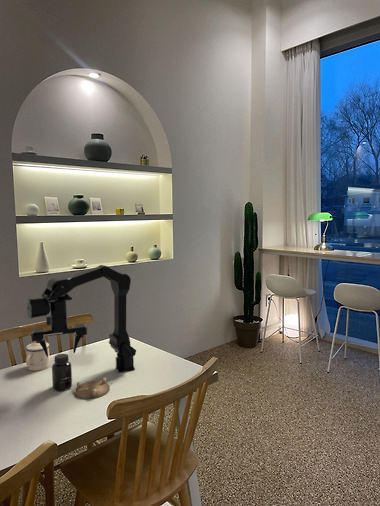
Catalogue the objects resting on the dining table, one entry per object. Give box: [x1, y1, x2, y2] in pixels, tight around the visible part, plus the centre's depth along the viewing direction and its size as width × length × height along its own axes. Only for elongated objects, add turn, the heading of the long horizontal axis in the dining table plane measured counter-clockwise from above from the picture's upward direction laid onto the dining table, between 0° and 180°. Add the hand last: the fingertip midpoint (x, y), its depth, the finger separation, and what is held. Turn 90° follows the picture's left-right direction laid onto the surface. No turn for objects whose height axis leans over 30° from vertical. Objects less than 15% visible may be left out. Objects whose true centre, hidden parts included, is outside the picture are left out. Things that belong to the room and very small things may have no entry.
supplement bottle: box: [51, 353, 73, 392], centre depth 144 cm, size 7×7×12 cm
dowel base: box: [74, 377, 111, 400], centre depth 141 cm, size 12×12×3 cm
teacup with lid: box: [25, 341, 51, 372], centre depth 161 cm, size 12×9×12 cm
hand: (60, 354), depth 143 cm, fingers open, 9 cm apart
